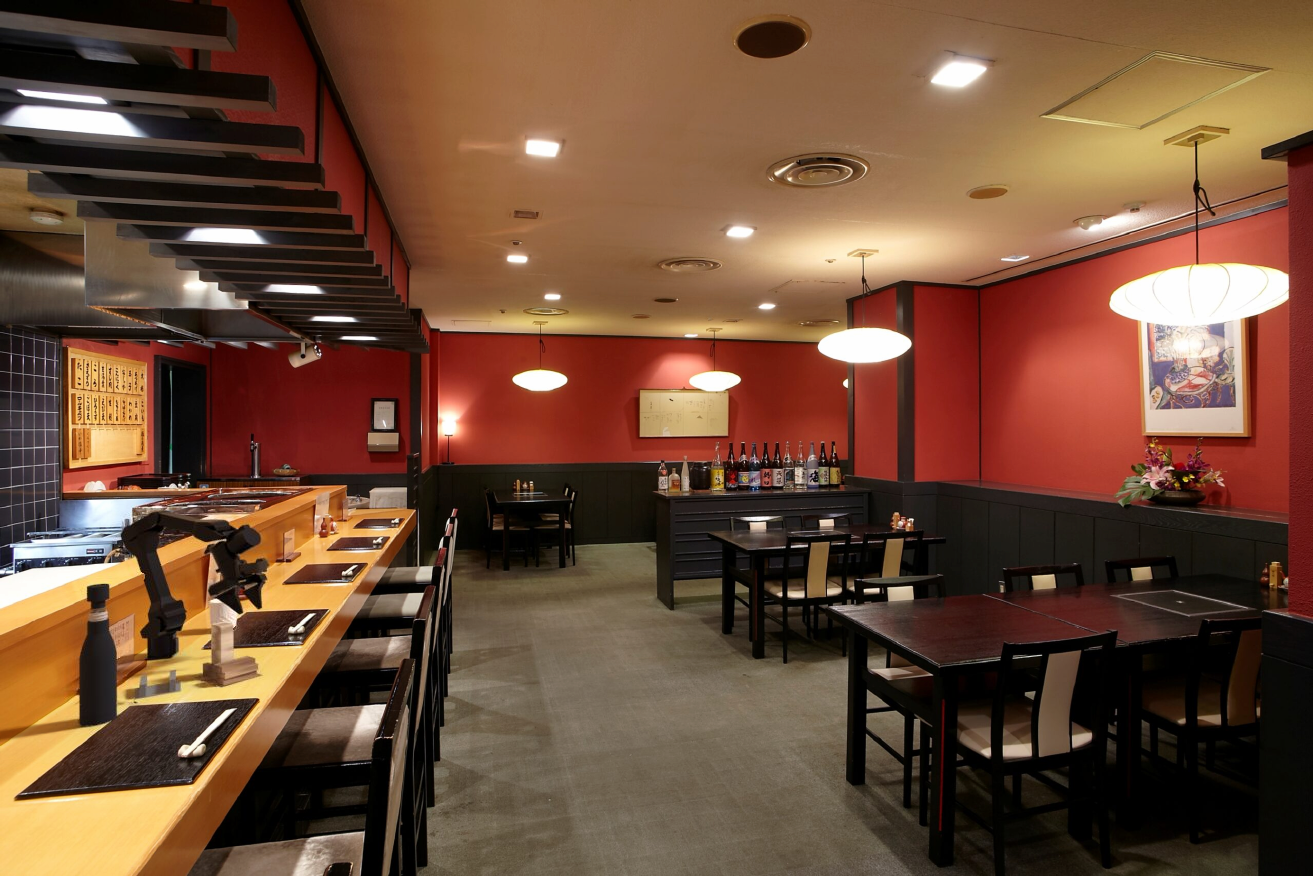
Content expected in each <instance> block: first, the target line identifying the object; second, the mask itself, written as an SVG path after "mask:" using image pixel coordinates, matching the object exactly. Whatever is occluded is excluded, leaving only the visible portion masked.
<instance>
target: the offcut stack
mask: <svg viewBox="0 0 1313 876" xmlns="http://www.w3.org/2000/svg"><path fill="white" fill-rule="evenodd" d="M258 670H259V664H258V663H257V662H256V658H255V657H252V656H249V655H245V656H241V657H236V658H234V659H233V660H229V661H225V662H222V663H218V664H214V671H217V676H216V683H219V684H221V685H226V684H230V683H233V682H237V681H240V680H243V679H247V678H250V677H254V676H257V673H258Z"/></svg>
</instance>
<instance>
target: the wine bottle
mask: <svg viewBox="0 0 1313 876" xmlns="http://www.w3.org/2000/svg"><path fill="white" fill-rule="evenodd" d="M107 600H108V601H109V600H110V583H97V584H96V583H95V584H91V585H87V586H86V602H88V603H90V611H89V614H88V620H87V622H86V623H87V624H86V625H87V626H86V628H87V629H86V633H87V634H86V636H85V638H84V641H83V644H82V646H81V649H80V652H79V653H80V654H79V659H78V661H79V662H78V664H79V666H78V668H79V669H78V672H79V673H78V674H79V675H78V677H79V678H78V684H79V685H78V687H79V688H78V689H79V690H78V691H79V692H78V693H79V694H78V695H79V696H78V698H79V699H78V700H79V701H78V703H79V705H78V708H79V709H78V710H79V711H78V713H79V714H78V715H79V720H78V723H79V725H80V726H81V727H93V726H99V725H103V724H106V723H109V722H111V721H114V720H115V719H117V717H118V681H117V680H118V652H117V648H116V644H115V643H116V642H115V640H114V638H113V635H112V634H111V632H110V619H109V615H108V614H109V612H108V610H107V606H106V601H107Z"/></svg>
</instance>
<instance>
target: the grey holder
mask: <svg viewBox="0 0 1313 876" xmlns="http://www.w3.org/2000/svg"><path fill="white" fill-rule="evenodd" d="M139 680H140V681H139V685H138V686H139V687H136V688H135V692H134V698H133V704H134V703H135V704H138V702H137V701H135V700H139V699H145V698H151V697H152V698H153V697H157V696H161V695H168V694H173V693H179V692H181V690H182V689H181V688H182V687H181V686H182V685H181V683H182V681H181V680H177V670H176V669H173V670H169V682H164V683H158V684H157V683H156V684H152V685H148V674H144V675H140V679H139Z"/></svg>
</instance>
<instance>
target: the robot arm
mask: <svg viewBox="0 0 1313 876" xmlns="http://www.w3.org/2000/svg"><path fill="white" fill-rule="evenodd" d="M166 528H167V529H171V530H175V531H179V532H184V533H188V534H191V535H192V536H193V537H194V538H195V539H197V540H199V541H201V542H203V543H209V544H207V545H206V548H205V550H204V551H203V555H210V554H211V555H212V557H213V559H214V562H215V564H216V566H217V569H215V573H216V574H220V575H221V578H222V579H220V580H219V581H217V582H215V583H212V584H211V585H209V587H208V589H207V592H208V594H209V597H213V598H214V599H218V600H219V601H221V602H222V603H224V604H225V605H227V606H228V607H230V608H231V609H232V610H234V611H235V612H236V613H237V615H242V614H244V609H243V608H244V607H243V605H242V602H241V599H240V596H239V592H240V589H241V590H242V592H241V593H242V594H243V595H244V596H245V597H246V599H247V600H248V601H249V602H250V603H251V604H252V605H253V606H254V608H256V609H257V610H261V609H263V601H262V599H263V598H262V588H263V586H264V585H265V584H266V583H267V582H266V581H268V577H267V574H266V573H267V572H268V568H269V566H270V563H269V562H268V560H267V559H266V557H261V558H256V559H255V562H248V561H247V560H246V559H242V558H241V556H240V555H242V554H245V553H246V552H249V550H251V549H253V548H255V547H257V546H258V545H260V544H261V542H262V537H261V534H260V533H259V532H258V531H257V530H256V529H255V528H252V527H251V526H250V524H248V523H247V524H242V525H240V526H239V527H238V528H236V527H234V526H233V525H231V524H230V522H229V521H228V520H226V519H218V518H217V519H216V518H213V519H211V518H210V519H201V518H198V517H192V516H188V515H184V514H179V513H176V512H173V511H172V512H171V511H170V510H167V509H166V510H165V509H164V510H155V511H151V512H149V513H148V514H147V515H146V516H145V517H143V518H140V519H138V520H136V521H134V522H132V523H131V524H130V525H126V526H125V527H124V528H123V529H122V531H121V532H120V539H121V542H122V543H123V545H124V547H125V549H126V550H127V551H129V553H131V554H132V555H133V556H135V558H136V561H137V565H138V567H139V568H138V569H139V570H140V573H141V572H142V573H144V574H145V579H144V580H143V583H144V586H145V588H146V589H145V590H146V593H147V595H148V599H149V601H150V606H149V609H148V612H147V619H148V622H147V623H146V624H145V625H144V626H143V628H141V629H140V630H139V633H140V636H141V638H142V639H146V645H147V646H146V647H147V648H146V649H147V650H146V653H147V656H146V657H145V658H144V660H145V659H147V660H146V661H149V660H159V659H160V660H161V659H170V658H173V657H174V656H175V655H177V653H178V652H179V651H180V640H179V639H180V638H179V637H178V636H177V633H178V632H181V631H182V630H183V627H184V625H185V624H184V623H185V621H186V620H187V614H186V613H187V612H188V611H187V610H186V608H185V603H184V601H183V600H182V599H175V598H174V597H173V596H172V594H171V590H170V587H169V584H168V581H167V578H166V576H165V572H164V569H163V566H162V563H161V561H160V557H159V554H158V552H157V551H158V547H159V543H160V539H161V538H160V534H161V533H162V532H164V531H165V530H166ZM216 541H218V542H216ZM211 542H216V543H211Z"/></svg>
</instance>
